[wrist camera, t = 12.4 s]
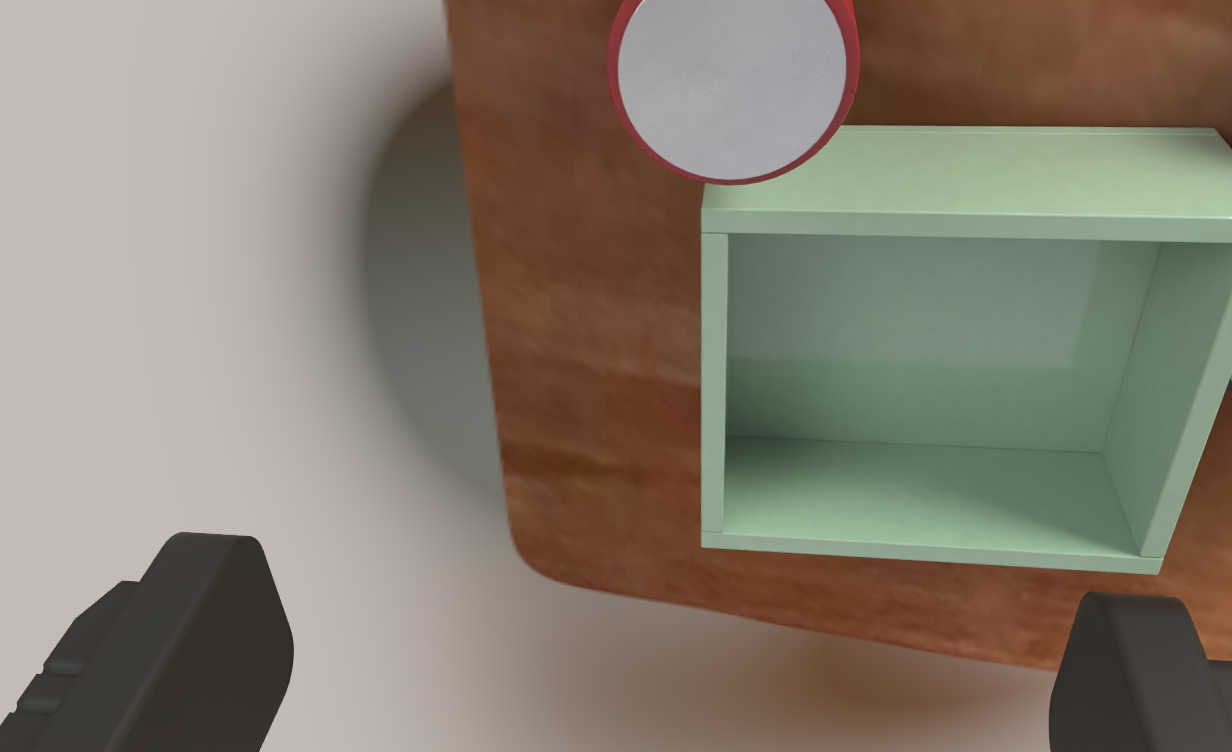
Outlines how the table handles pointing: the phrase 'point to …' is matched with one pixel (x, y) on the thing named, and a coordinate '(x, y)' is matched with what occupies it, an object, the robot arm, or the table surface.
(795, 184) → the open box
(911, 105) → the table surface
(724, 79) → the can
